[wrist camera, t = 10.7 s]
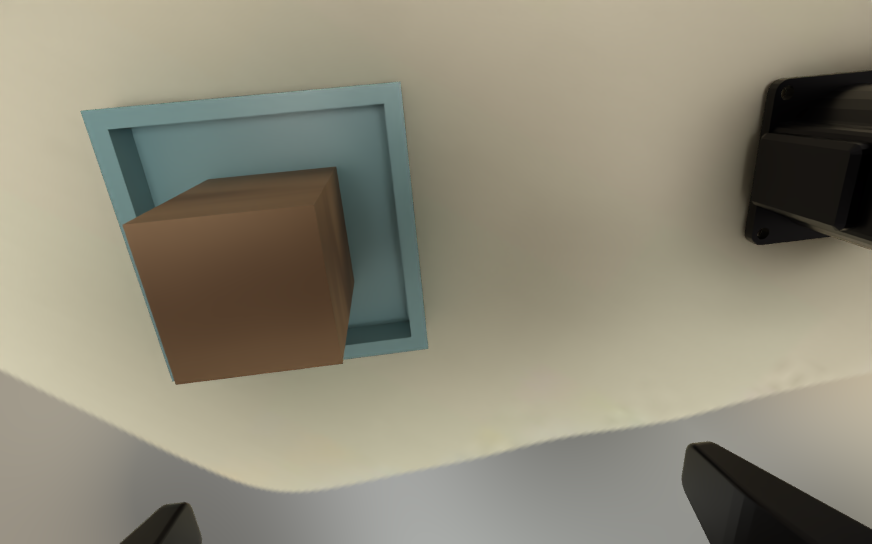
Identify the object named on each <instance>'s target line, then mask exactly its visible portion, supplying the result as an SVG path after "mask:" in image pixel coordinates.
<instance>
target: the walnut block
mask: <svg viewBox="0 0 872 544" xmlns="http://www.w3.org/2000/svg"><path fill="white" fill-rule="evenodd" d="M122 226H123V229H124V232H125V235H126V238H127V241H128V244H129V247H130V250H131V253H132V256H133V259H134V262H135V265H136V267H137V270H138V273H139V276H140V279H141V282H142V285H143V288H144V291H145V294H146V297H147V300H148V303H149V306H150V309H151V312H152V315H153V318H154V321H155V324H156V327H157V330H158V333H159V336H160V339H161V342H162V345H163V348H164V351H165V354H166V357H167V360H168V363H169V366H170V369H171V372H172V375H173V378H174V381H175V384H176V385H177V384H185V383H193V382H201V381H209V380H217V379H225V378H233V377H240V376H248V375H256V374H264V373H272V372H280V371H288V370H296V369H304V368H312V367H320V366H328V365H335V364H343V357H344V350H345V344H346V337H347V330H348V323H349V316H350V309H351V302H352V295H353V289H354V276H353V269H352V263H351V257H350V250H349V244H348V238H347V231H346V225H345V219H344V212H343V206H342V200H341V193H340V187H339V181H338V174H337V168H336V167H326V168H316V169H306V170H296V171H286V172H276V173H266V174H256V175H246V176H236V177H226V178H216V179H208V180H206V181H204V182H202V183H200V184H198V185H196V186H194V187H192V188H191V189H189V190H187V191H185V192H183V193H181V194H179V195H177V196H176V197H174V198H172V199H170V200H168V201H166V202H164V203H162V204H160V205H159V206H157V207H155V208H153V209H151V210H149V211H147V212H145V213H143V214H142V215H140V216H138V217H136V218H134V219H132V220H130V221H128V222H127V223H125V224H123V225H122Z"/></svg>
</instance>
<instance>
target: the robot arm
mask: <svg viewBox="0 0 872 544" xmlns="http://www.w3.org/2000/svg"><path fill="white" fill-rule="evenodd" d="M784 88H786V93H785V96H784V97H783V98H782V97H781V93H782V90H783V89H784ZM760 229H762V232H761V234H760V235H757V234H758V232H759V230H760ZM745 237H746V239H747V240H748V241H750V242H752V243H755V244H757V245H765V244H773V243H781V242H790V241H798V240H807V239H815V238H823V237H835V238H838V239H841V240H844V241H847V242H850V243H853V244H856V245H859V246H862V247H865V248H868V249H871V250H872V70H867V71H857V72H846V73H836V74H825V75H815V76H804V77H794V78H783V79H779V80H776V81H775V82H774V83H773V84H772V85H771V86H770V88H769V90H768V93H767V98H766V104H765V110H764V117H763V123H762V129H761V135H760V142H759V148H758V154H757V161H756V167H755V173H754V180H753V186H752V192H751V198H750V205H749V211H748V217H747V224H746V230H745ZM682 485H683V488H684V491H685V493H686V495H687V497H688V499H689V501H690V504H691V506H692V508H693V510H694V512H695V514H696V516H697V518H698V520H699V522H700V524H701V526H702V528H703V530H704V532H705V534H706V536H707V538H708V540H709V542H710V544H872V529H870V528H869V527H867V526H864V525H863V524H861V523H860V522H858V521H856V520H854V519H852V518H850V517H849V516H847V515H845V514H843V513H841V512H839V511H838V510H836V509H834V508H832V507H830V506H828V505H827V504H825V503H823V502H821V501H819V500H818V499H815V498H814V497H812V496H810V495H808V494H807V493H804V492H803V491H801V490H799V489H798V488H796V487H794V486H792V485H790V484H788V483H787V482H785V481H783V480H781V479H779V478H778V477H776V476H774V475H772V474H770V473H768V472H767V471H765V470H763V469H761V468H759V467H757V466H756V465H754V464H752V463H750V462H748V461H746V460H745V459H743V458H741V457H739V456H737V455H736V454H734V453H732V452H730V451H728V450H726V449H725V448H723V447H721V446H719V445H717V444H715V443H713V442H698V443H692V444H689V445H688V446H687V448H686V453H685V459H684V466H683V471H682ZM120 544H202V537H201V533H200V530H199V527H198V524H197V521H196V518H195V515H194V512H193V509H192V507H191V505H190V504H189V503H186V502H182V503H174V504H166V505H163V506H162V507H161V508H159V509H158V510H157V511H155V512H154V513H153V514H152V515H151V516H150V517H149V518H148V519H147V520H145V521H144V522H143V523H142V524H141V525H140V526H139V527H138V528H136V529H135V530H134V531H133V532H132V533H131V534H130V535H129V536H127V537H126V538H125V539H124V540H123V541H122V542H121V543H120Z"/></svg>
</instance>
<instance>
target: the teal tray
mask: <svg viewBox="0 0 872 544" xmlns="http://www.w3.org/2000/svg"><path fill="white" fill-rule="evenodd" d="M81 114H82V117H83V120H84V123H85V126H86V129H87V132H88V134H89V137H90V140H91V143H92V146H93V149H94V152H95V155H96V158H97V161H98V164H99V167H100V170H101V173H102V176H103V179H104V181H105V184H106V187H107V190H108V193H109V196H110V199H111V202H112V205H113V208H114V211H115V214H116V217H117V220H118V223H119V226H120V228H121V231H122V234H123V237H124V240H125V243H126V246H127V249H128V252H129V255H130V258H131V261H132V264H133V267H134V270H135V273H136V275H137V278H138V281H139V284H140V287H141V290H142V293H143V296H144V299H145V302H146V305H147V308H148V311H149V314H150V317H151V320H152V322H153V325H154V328H155V331H156V334H157V337H158V340H159V343H160V346H161V349H162V352H163V355H164V358H165V361H166V364H167V367H168V369H169V372H170V375H171V378H172V381H174V378H173V375H172V372H171V369H170V366H169V363H168V360H167V357H166V354H165V351H164V348H163V345H162V342H161V339H160V336H159V333H158V330H157V327H156V324H155V321H154V318H153V315H152V312H151V309H150V306H149V303H148V300H147V297H146V294H145V291H144V288H143V285H142V282H141V279H140V276H139V273H138V270H137V267H136V265H135V262H134V259H133V256H132V253H131V250H130V247H129V244H128V241H127V238H126V235H125V232H124V229H123V226H122V225H123V224H125V223H127V222H128V221H130V220H132V219H134V218H136V217H138V216H140V215H142V214H143V213H145V212H147V211H149V210H151V209H153V208H155V207H157V206H159V205H160V204H162V203H164V202H166V201H168V200H170V199H172V198H174V197H176V196H177V195H179V194H181V193H183V192H185V191H187V190H189V189H191V188H192V187H194V186H196V185H198V184H200V183H202V182H204V181H206V180H208V179H216V178H226V177H236V176H246V175H256V174H266V173H276V172H286V171H296V170H306V169H316V168H326V167H336V168H337V174H338V181H339V187H340V193H341V200H342V206H343V212H344V219H345V225H346V231H347V238H348V244H349V250H350V257H351V263H352V269H353V276H354V289H353V295H352V302H351V309H350V316H349V323H348V330H347V337H346V344H345V350H344V357H343V360H344V359H352V358H360V357H368V356H375V355H383V354H391V353H399V352H407V351H415V350H422V349H428V341H427V331H426V322H425V312H424V302H423V293H422V283H421V274H420V264H419V255H418V245H417V236H416V226H415V216H414V207H413V197H412V188H411V178H410V169H409V159H408V150H407V140H406V130H405V121H404V111H403V102H402V92H401V83H400V82H391V83H380V84H369V85H358V86H347V87H336V88H325V89H314V90H303V91H292V92H281V93H270V94H259V95H248V96H237V97H227V98H216V99H205V100H194V101H183V102H172V103H161V104H150V105H139V106H128V107H117V108H106V109H95V110H84V111H81Z"/></svg>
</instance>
